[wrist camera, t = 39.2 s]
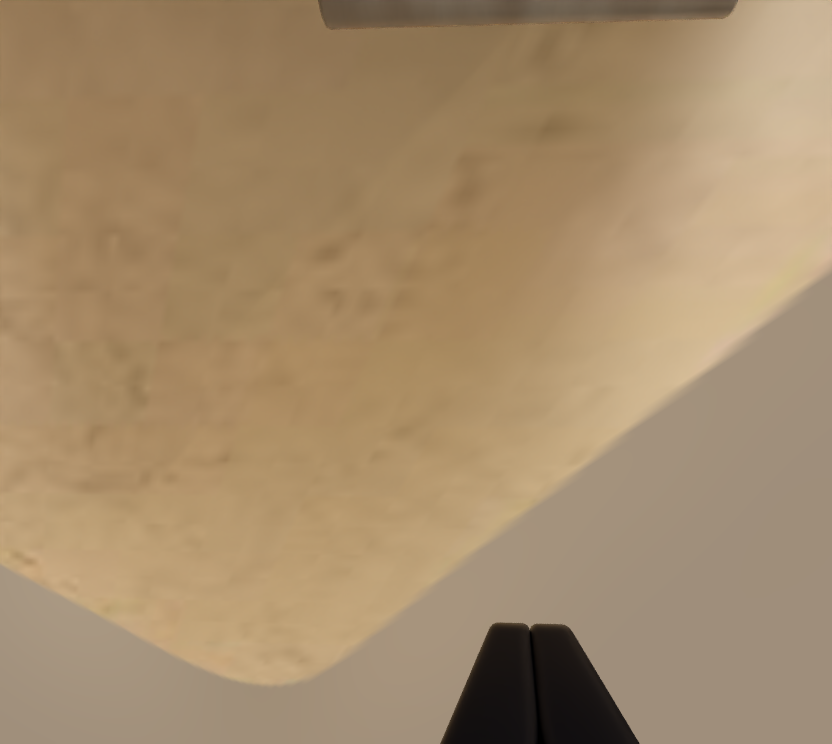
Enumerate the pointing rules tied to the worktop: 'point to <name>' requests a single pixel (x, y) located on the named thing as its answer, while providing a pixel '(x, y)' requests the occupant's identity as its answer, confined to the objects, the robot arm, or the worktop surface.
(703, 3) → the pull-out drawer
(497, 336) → the worktop surface
